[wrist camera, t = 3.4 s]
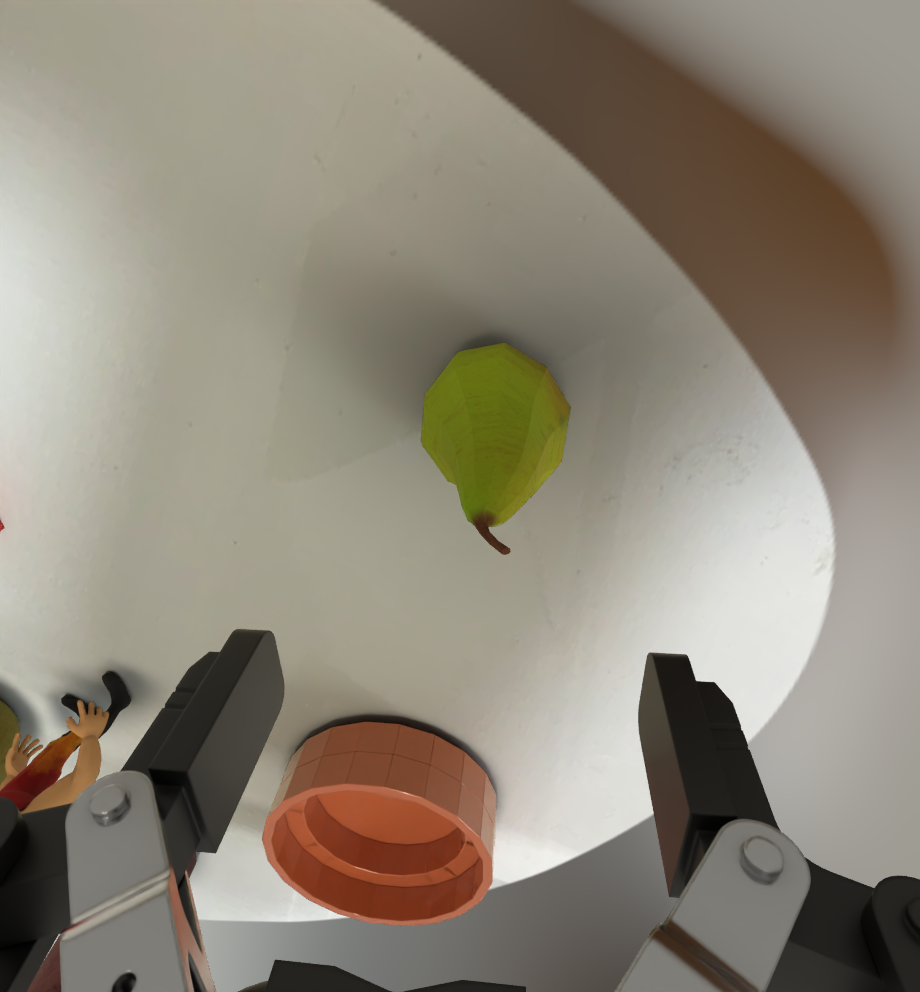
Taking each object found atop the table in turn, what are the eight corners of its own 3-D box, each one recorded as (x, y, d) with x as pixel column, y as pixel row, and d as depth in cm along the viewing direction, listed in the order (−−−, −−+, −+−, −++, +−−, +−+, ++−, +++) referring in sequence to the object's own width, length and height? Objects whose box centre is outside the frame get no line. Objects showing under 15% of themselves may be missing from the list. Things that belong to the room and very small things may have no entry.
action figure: (127, 652, 39) (-80, 905, 26) (168, 689, 40) (-9, 949, 27) (37, 702, 42) (-187, 949, 29) (78, 735, 43) (-119, 986, 30)
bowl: (497, 722, 38) (492, 796, 34) (496, 860, 45) (492, 936, 41) (275, 707, 40) (243, 775, 35) (306, 842, 47) (282, 913, 42)
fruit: (414, 346, 28) (339, 465, 17) (553, 313, 26) (565, 420, 16) (451, 473, 30) (407, 642, 20) (579, 449, 29) (604, 616, 19)
